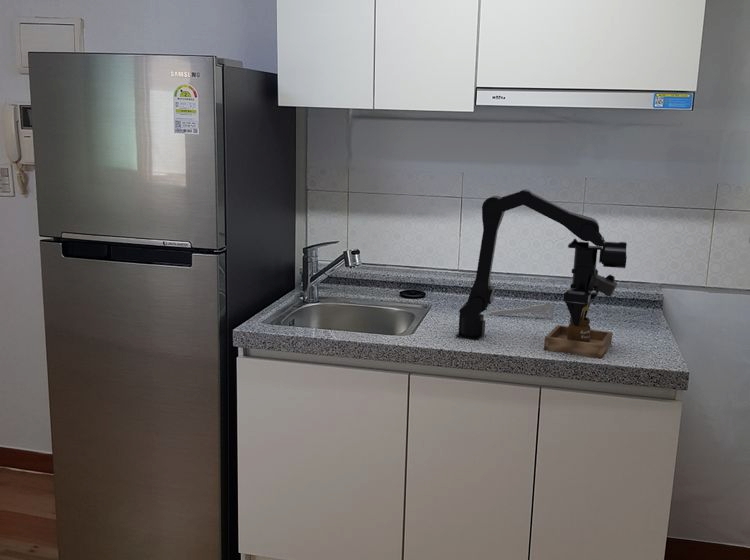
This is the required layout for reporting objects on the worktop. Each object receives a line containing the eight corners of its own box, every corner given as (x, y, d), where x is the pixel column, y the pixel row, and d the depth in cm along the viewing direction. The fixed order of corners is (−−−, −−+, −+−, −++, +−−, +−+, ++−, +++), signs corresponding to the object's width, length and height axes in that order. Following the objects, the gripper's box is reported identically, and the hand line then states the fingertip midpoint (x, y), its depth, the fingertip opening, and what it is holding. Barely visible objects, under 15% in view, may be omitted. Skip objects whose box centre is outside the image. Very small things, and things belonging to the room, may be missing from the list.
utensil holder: (562, 343, 198) (566, 300, 195) (573, 338, 202) (576, 296, 200) (583, 347, 194) (586, 303, 192) (593, 343, 199) (597, 300, 196)
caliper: (552, 319, 229) (554, 300, 227) (552, 320, 228) (554, 301, 226) (487, 315, 233) (488, 295, 231) (486, 315, 232) (488, 296, 230)
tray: (543, 349, 195) (544, 337, 194) (556, 336, 208) (557, 324, 207) (601, 358, 188) (602, 345, 188) (611, 344, 201) (612, 332, 201)
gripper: (610, 274, 182) (604, 334, 185) (621, 263, 198) (616, 319, 201) (565, 269, 187) (560, 328, 190) (580, 259, 203) (575, 313, 206)
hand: (580, 322), depth 197 cm, fingers open, 9 cm apart
